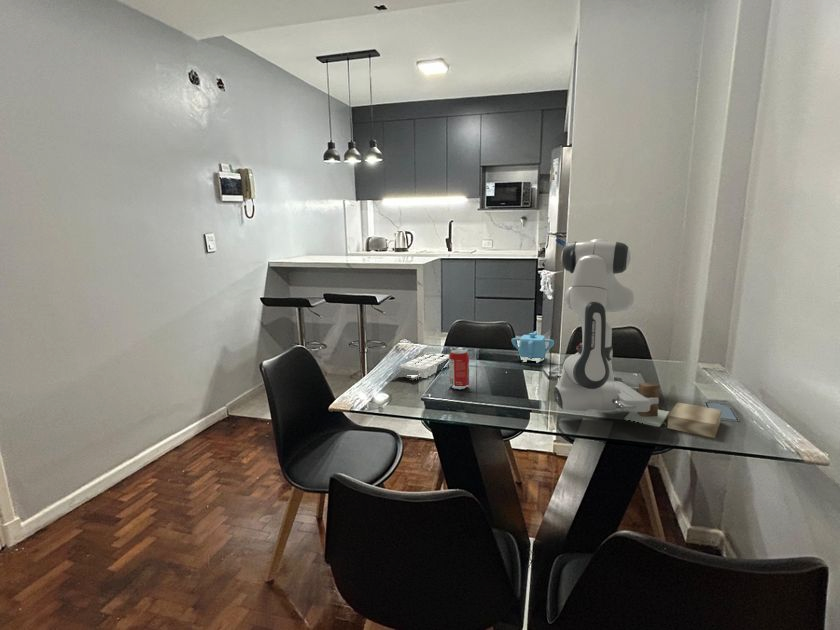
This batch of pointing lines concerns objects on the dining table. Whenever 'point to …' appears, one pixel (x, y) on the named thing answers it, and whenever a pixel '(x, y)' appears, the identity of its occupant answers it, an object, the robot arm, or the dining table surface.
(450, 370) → the soda can
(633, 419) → the rubber mat
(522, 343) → the teapot
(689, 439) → the dining table surface
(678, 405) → the birch block
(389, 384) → the dining table surface
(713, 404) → the smartphone
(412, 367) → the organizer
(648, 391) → the brown wooden upright block
